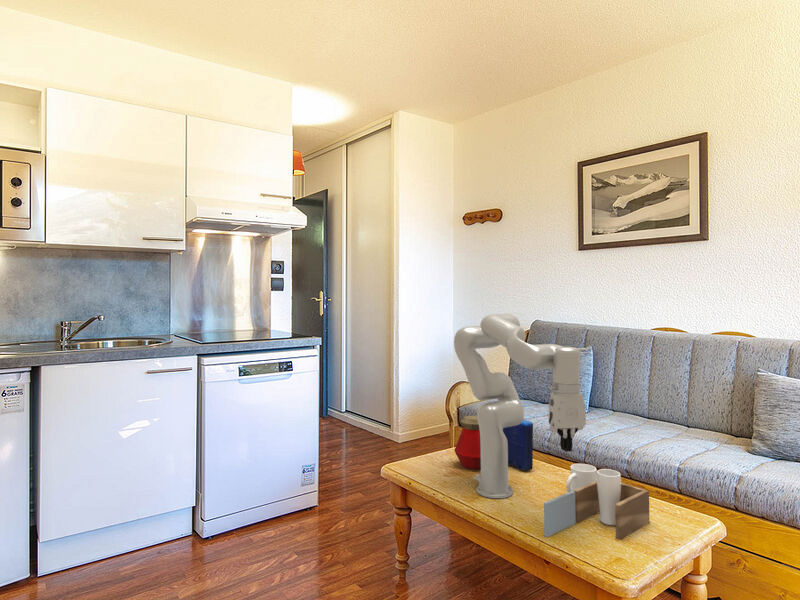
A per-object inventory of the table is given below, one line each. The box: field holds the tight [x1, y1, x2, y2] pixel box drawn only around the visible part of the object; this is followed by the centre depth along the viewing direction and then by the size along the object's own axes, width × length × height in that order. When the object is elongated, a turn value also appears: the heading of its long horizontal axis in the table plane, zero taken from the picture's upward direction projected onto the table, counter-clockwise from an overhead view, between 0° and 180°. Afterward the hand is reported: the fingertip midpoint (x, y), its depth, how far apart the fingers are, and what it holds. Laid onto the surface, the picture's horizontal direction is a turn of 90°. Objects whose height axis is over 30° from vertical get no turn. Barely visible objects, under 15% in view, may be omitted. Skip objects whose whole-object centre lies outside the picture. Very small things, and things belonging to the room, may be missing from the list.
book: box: [503, 419, 534, 472], centre depth 198 cm, size 14×5×20 cm, turn 29°
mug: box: [566, 463, 598, 493], centre depth 165 cm, size 12×8×10 cm
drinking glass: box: [597, 468, 622, 526], centre depth 147 cm, size 7×7×15 cm
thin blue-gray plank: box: [543, 491, 576, 538], centre depth 143 cm, size 14×1×10 cm, turn 127°
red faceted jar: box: [454, 415, 481, 471], centre depth 199 cm, size 16×14×20 cm
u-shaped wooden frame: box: [574, 481, 650, 540], centre depth 147 cm, size 14×17×10 cm
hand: (566, 450), depth 145 cm, fingers closed
